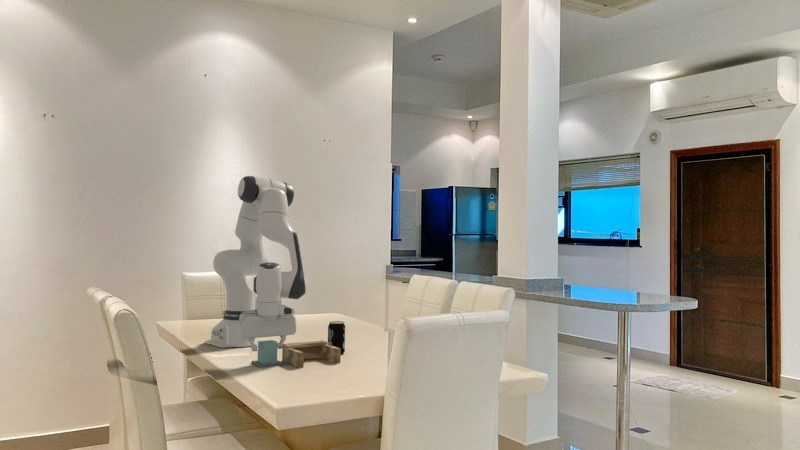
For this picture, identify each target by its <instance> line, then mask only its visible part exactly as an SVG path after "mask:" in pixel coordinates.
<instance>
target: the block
mask: <svg viewBox="0 0 800 450" xmlns="http://www.w3.org/2000/svg"><path fill="white" fill-rule="evenodd" d="M277 343H278V341H276V340H273V339H266V340H265V339H264V340H258V342H257V360H258V362H260V363H263V364H266V363H275V362H277V360H278V348H277Z"/></svg>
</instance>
